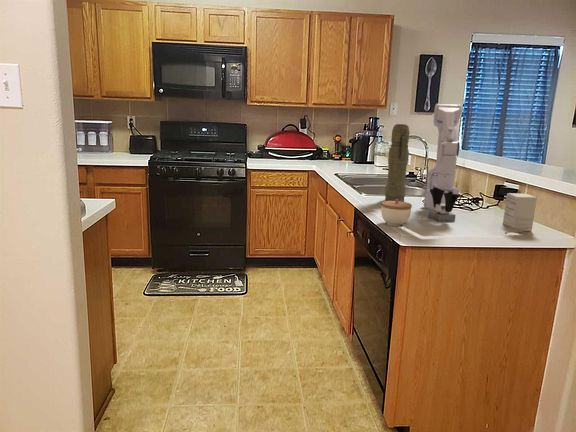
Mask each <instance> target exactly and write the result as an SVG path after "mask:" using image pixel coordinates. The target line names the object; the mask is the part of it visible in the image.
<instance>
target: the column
mask: <svg viewBox="0 0 576 432" xmlns="http://www.w3.org/2000/svg"><path fill="white" fill-rule="evenodd" d="M434 211H435V212H438V214H449V212H446V211H445V204H436V209H435V210H434Z"/></svg>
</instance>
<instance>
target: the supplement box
mask: <svg viewBox="0 0 576 432" xmlns="http://www.w3.org/2000/svg"><path fill="white" fill-rule="evenodd" d="M537 199H538V197H537V196H534V195H533V194H532V195H531V194H528V193H517V192H516V193H515V192H514V193H511V192H509V193H508V192H507V193H506V199H505V205H504V206H505V207H504V213H503V220H502V224H504V225H505V226H507V227H510V228H512V229H517V230H520V231H523V232H532V230H533V224H534V218H535V212H536V205H537Z"/></svg>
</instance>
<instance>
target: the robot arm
mask: <svg viewBox="0 0 576 432" xmlns="http://www.w3.org/2000/svg"><path fill="white" fill-rule="evenodd" d="M433 111H434V113H433V125H434V126H435V127H437V130H438V135H437V136H438V137H437V150H436V159H435V160H436V161H435V162H436V163H435V166H434V167H432V168H431V169H430V170H429V171H428V174H427V175H428V176H427V180H426V181H427V182H426V188H427V190H426V191H425V193H424V198H423V199H424V200H423V207H422V206H421V208H422V209H423V208H427V209H428V210H429V211H435V209H436V204H445V211H446V212H450V213H452V211H453V208H454V206H455V204H456V202H457V200H458V199H459V198H460V196H461V194H460V188H458V187H456V186H454V185H455V184H454V183H455V176H456V168H457V167H456V166H457V159H458V157H459V154H460V149H461V147H460V146H461V144H460V140H459V139H458V131H457V129H456V128H455V127H457V125H458V124H459V121H460V118H461V114H462V105H461V104H451V103H450V104H447V103H446V104H445V103H443V104H442V103H436V104H435V106H434V110H433Z"/></svg>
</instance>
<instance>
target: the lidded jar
mask: <svg viewBox="0 0 576 432" xmlns="http://www.w3.org/2000/svg"><path fill="white" fill-rule="evenodd" d="M412 205H413V204H411V203H409V202H405V201H404V202H401V201H398V199H396V200H395V201H385V200H384V201H382V202H381V207H380V208H381V217H382V219H383V221H384V222H385V224H386V225H387V226H393V227H403V225H404V224H406V223H407V222H408V221H409V219H410V216H411V212H412V207H413V206H412Z"/></svg>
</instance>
